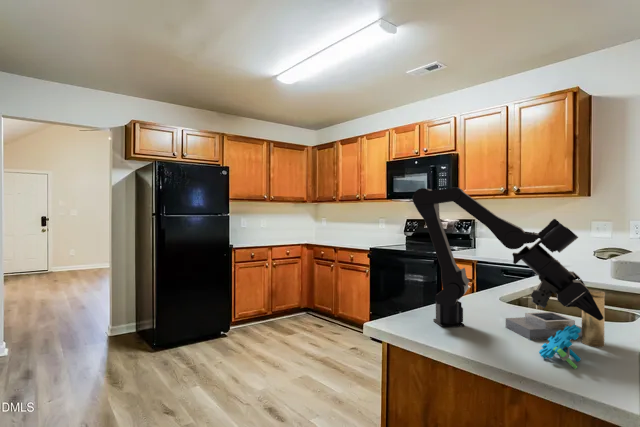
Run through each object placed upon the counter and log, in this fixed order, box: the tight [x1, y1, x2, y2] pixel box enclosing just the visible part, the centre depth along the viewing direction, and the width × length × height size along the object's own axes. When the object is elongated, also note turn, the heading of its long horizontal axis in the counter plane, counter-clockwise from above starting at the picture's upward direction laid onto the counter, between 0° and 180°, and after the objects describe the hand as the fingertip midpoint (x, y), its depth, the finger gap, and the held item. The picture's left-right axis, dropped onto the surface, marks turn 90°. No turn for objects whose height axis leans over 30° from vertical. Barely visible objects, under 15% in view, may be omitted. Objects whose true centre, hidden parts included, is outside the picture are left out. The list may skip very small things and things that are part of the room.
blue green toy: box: [538, 323, 582, 369], centre depth 80 cm, size 11×6×10 cm
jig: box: [505, 311, 582, 340], centre depth 99 cm, size 14×10×4 cm
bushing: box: [581, 289, 606, 348], centre depth 90 cm, size 5×5×12 cm
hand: (598, 314), depth 90 cm, fingers open, 9 cm apart
